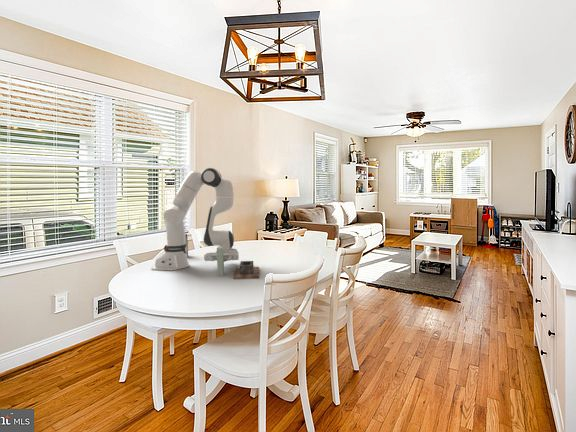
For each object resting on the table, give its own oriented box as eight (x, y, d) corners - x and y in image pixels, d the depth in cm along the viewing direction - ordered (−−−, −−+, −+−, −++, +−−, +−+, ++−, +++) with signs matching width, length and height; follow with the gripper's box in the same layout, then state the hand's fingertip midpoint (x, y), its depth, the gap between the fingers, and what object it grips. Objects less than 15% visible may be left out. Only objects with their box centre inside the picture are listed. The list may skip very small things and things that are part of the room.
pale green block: (217, 276, 190) (216, 248, 188) (218, 273, 196) (218, 246, 194) (222, 275, 190) (222, 248, 188) (224, 273, 196) (223, 246, 194)
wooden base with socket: (233, 279, 184) (233, 268, 183) (236, 269, 203) (235, 259, 203) (258, 278, 185) (258, 267, 184) (259, 268, 204) (258, 258, 204)
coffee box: (188, 255, 243) (187, 234, 241) (182, 257, 237) (181, 235, 235) (179, 254, 246) (178, 233, 245) (172, 256, 241) (171, 234, 239)
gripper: (205, 249, 204) (201, 254, 190) (239, 248, 205) (237, 253, 192) (206, 259, 204) (202, 265, 191) (239, 258, 206) (238, 264, 192)
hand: (220, 259), depth 191 cm, fingers open, 8 cm apart
